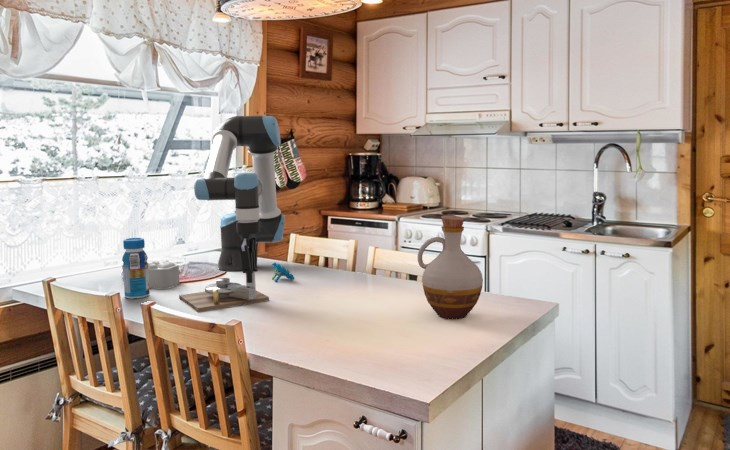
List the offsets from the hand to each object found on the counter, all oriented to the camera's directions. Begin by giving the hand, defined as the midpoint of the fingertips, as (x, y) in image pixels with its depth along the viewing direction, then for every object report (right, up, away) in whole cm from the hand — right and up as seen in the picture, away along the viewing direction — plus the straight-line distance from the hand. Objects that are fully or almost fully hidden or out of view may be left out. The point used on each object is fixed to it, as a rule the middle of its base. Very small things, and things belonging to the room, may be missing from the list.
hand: (251, 291), depth 199 cm
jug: (+63, -5, -18) cm, 66 cm away
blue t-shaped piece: (+6, 0, +31) cm, 31 cm away
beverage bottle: (-41, -3, +10) cm, 42 cm away
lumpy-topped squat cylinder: (-39, -1, +26) cm, 47 cm away
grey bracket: (-7, -1, +1) cm, 7 cm away
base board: (-10, -3, +4) cm, 11 cm away
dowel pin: (-10, -3, -6) cm, 12 cm away
